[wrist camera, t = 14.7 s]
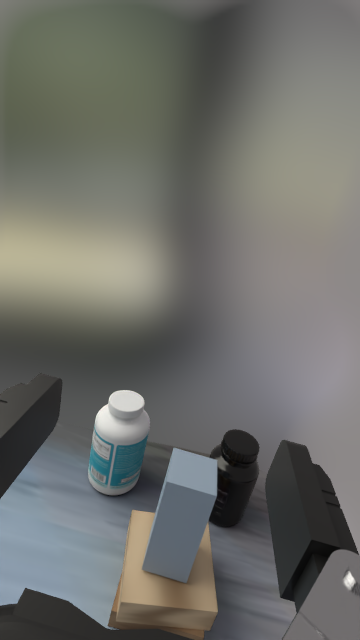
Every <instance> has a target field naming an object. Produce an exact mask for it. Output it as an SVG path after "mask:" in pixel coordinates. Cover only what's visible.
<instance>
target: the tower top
mask: <svg viewBox="0 0 360 640" xmlns="http://www.w3.org/2000/svg"><path fill="white" fill-rule="evenodd" d="M154 516H155V513H151V512H144V511H137V510H132V513H131V518H130V522H129V526H128V533H127V540H126V548H125V556H124V563H123V571H122V578H121V586H120V594H119V601H118V609H117V617H116V621H117V622H127V623H137V624H147V625H157V626H167V627H178V628H188V629H198V630H208V631H210V629H211V627H212V625H213V622H214V620H215V618H216V615H217V613H218V608H217V599H216V590H215V581H214V572H213V562H212V553H211V544H210V535H209V526H208V523H207V526H206V528H205V531H204V534H203V537H202V540H201V543H200V546H199V549H198V551H197V554H196V557H195V560H194V563H193V566H192V569H191V571H190V574H189V577H188V580H187V583H183V582H180V581H177V580H174V579H170V578H167V577H164V576H161V575H157V574H154V573H151V572H148V571H144V570H142V565H143V561H144V557H145V552H146V548H147V544H148V540H149V535H150V531H151V527H152V523H153V520H154Z"/></svg>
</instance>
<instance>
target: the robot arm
mask: <svg viewBox="0 0 360 640" xmlns="http://www.w3.org/2000/svg"><path fill="white" fill-rule="evenodd" d="M61 392H62V380H61V379H60V378H57V377H53V376H49V375H46V374H42V373H40V374H38V375H37V376H36V377H35V378H34V379H33V380H31V381H30V382H29V383H28V384H23V383H20V384H17V385H15V386H13V387H10V388H8V389H6V390H5V391H3V392H2V393H1V394H0V498H1V497H2V496H3V495H4V493H5V492H6V491H7V489H8V488H9V487H10V485H11V484H12V483H13V482H14V480H15V479H16V478H17V476H18V475H19V474H20V472H21V471H22V470H23V469H24V467H25V466H26V465H27V463H28V462H29V461H30V459H31V458H32V457H33V456H34V454H35V453H36V452H37V450H38V449H39V448H40V446H41V445H42V444H43V443H44V441H45V440H46V439H47V437H48V436H49V435H50V433H51V432H52V431H53V429H54V427H55V425H56V423H57V420H58V417H59V411H60V402H61ZM265 489H266V498H267V505H268V513H269V520H270V527H271V534H272V541H273V548H274V555H275V563H276V570H277V577H278V584H279V591H280V598H283V599H287V600H290V601H294V602H295V606H296V612H297V614H296V616H295V617H294V619H293V621H292V623H291V624H290V626H289V628H288V630H287V631H286V633H285V635H284V637H283V638H282V640H360V556H359V554H358V551H357V548H356V546H355V543H354V540H353V538H352V535H351V533H350V530H349V527H348V525H347V522H346V519H345V517H344V514H343V512H342V509H340V504H339V501H338V498H337V497H336V496H335V494H336V493H335V491H334V488H333V486H332V483H331V480H330V478H329V477H328V476H327V474H326V473H325V472H324V471H323V469H322V468H321V467H320V466H319V465H317V464H313V463H312V461H311V458H310V455H309V452H308V449H307V447H306V446H305V445H301V444H297V443H294V442H290V441H286V440H282V441H281V443H280V445H279V448H278V450H277V452H276V454H275V457H274V459H273V462H272V464H271V466H270V469H269V471H268V474H267V478H266V487H265ZM0 640H194V639H191V638H187V637H184V636H181V635H177V634H174V633H171V632H168V631H164V630H161V629H126V630H110V629H107V628H105V627H103V626H102V625H101V624H99V623H98V622H96V621H95V620H94V619H92V618H91V617H89V616H88V615H87V614H85V613H84V612H83V611H81V610H80V609H78V608H77V607H76V606H74V605H73V604H71V603H70V602H69V601H66V600H63V599H60V598H57V597H53V596H50V595H47V594H44V593H40V592H37V591H34V590H30V589H27V588H25V590H24V592H23V593H22V595H21V597H20V599H19V601H18V603H17V604H8V605H2V606H0Z"/></svg>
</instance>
